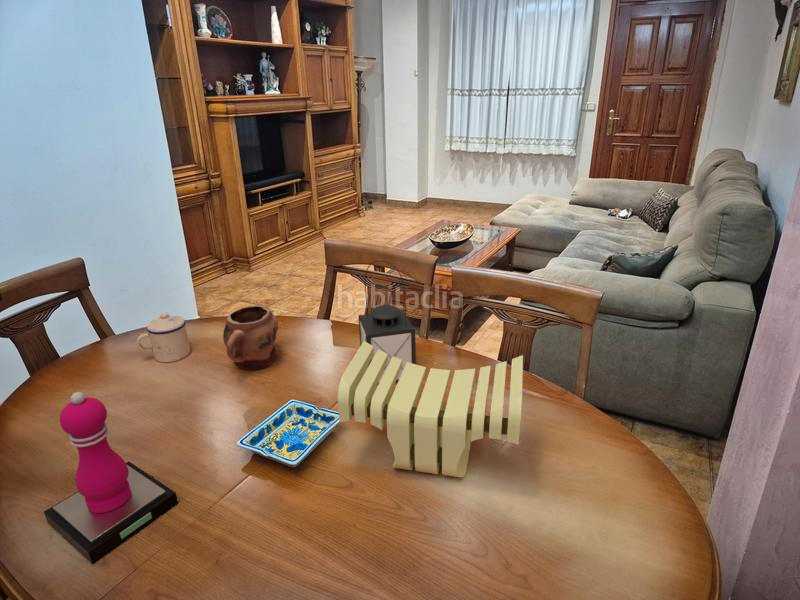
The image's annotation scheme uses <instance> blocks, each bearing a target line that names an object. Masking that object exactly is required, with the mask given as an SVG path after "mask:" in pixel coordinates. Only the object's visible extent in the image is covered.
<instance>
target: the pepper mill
mask: <svg viewBox="0 0 800 600" xmlns="http://www.w3.org/2000/svg"><path fill="white" fill-rule="evenodd" d="M107 417H108V410H107V409H106V406H105V404H104V403H103V402H102V401H101V400H99V399H98V398H95V397H86V396H85V394H84V393H83V392H82V391H76V392H74V393H72V395H70V402H68V403H67V404H66V405H65V406H64V407H63V408H62V410H61V412H60V415H59V426H60V428H61V429H62V430H63V431H64V432H65V433H66V434H68V439H69V441H70V444H71V445H72V446H73V447H75V448H76V449H77V452H78V464H77V468H76V472H75V473H76V474H75V486H76V490H77V492H79V493H80V494H81V495H83V496H84V497H85V502H86V505H87V507H88V509H89V510H90V511H91V512H95V513H104V512H109V511H111V510H114V509H116V508H118V507H119V506H121V505H122V504H123V503H124V502H125V501H126V500H127V499H128V498H129V496H130V493H131V489H130V486H129V482H128V481H127V478H128V475H129V470H128V467H127V465H126V463H127V462H126V461H125V460H124V459H123V457H122V456H120V454H118V453H117V452H116V451H115V450H114V449H112V447H111V446H110V443H109V442H108V438H107V436H108V433H109V427H108V424H107V422H106V420H107Z"/></svg>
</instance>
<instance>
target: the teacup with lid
mask: <svg viewBox="0 0 800 600" xmlns="http://www.w3.org/2000/svg"><path fill="white" fill-rule="evenodd" d="M186 324H187V323H186V320H185V318H184V317H182V316H180V315H169V313H168V312H162V313H160V314H159V317H157V318H156V319H153V320H151V321H149V323H148V324H147V326H146V331H147V332H146V333H141V334H140V335H139V336H138V337H137V338H136V345H137V347H138V349H140V350H141V351H142V352H145V353H151V352H153V357H154V359H155V361H157V362H159V363H173V362H177V361H181V360H183V359H185V358H186V357H188V356H189V355H190V353H191V346H190V341H189V337H188V332H187V327H186ZM148 337H149V340H150V344H151V347H144V346H143V345H142V344H141V340H142V339H144V338H148Z"/></svg>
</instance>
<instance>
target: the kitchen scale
mask: <svg viewBox="0 0 800 600" xmlns="http://www.w3.org/2000/svg"><path fill="white" fill-rule="evenodd" d="M125 463H126V465H127V467H128V470H129V475H128V478H127V481H128V482H129V486H130V489H131V493H130V496H129V498H128V499H127V500H126V501H125V502H124V503H123V504H122V505H121V506H119V507H118V508H116V509H114V510H111V511H109V512H104V513H95V512H91V511H90V510H89V509H88V507H87V505H86V502H85V497H84V496H83V495H81V494H80V493H79V492H78V491H76V492H74V493H73V494H70V495H69V496H68V497H66V498H64V499H62V500H61V501H59V502H57V503H56V504H53V506H50V507H49V508H47V509H46V510H44V511H43V515H44V517H45V519H46V522H47V524H48V525H49V526H51V528H53V529H54V531H56V533H58V534H59V535H60V536H61V537H62V538H64V540H66V541H67V543H69V544H70V545H71V546H72V547H73V548H74V549H75V550H77V552H78V553H80V555H82V556H83V557H84V558H85V559H86V560H87V561H89V563H90V564H91V565H94V564H95V563H97V562H98V561H100V560H101V559H102V558H104V557H105V556H107V555H108V554H109V553H111V552H112V551H113V550H115V549H116V548H118V547H119V546H121V545H122V544H124V543H125V542H127V540H129V539H130V538H132V537H133V536H135V535H136V534H137V533H139V532H140V531H142V530H143V529H145V528H146V527H147V526H149V525H150V524H152V523H153V522H155V521H156V520H157V519H158V518H160V517H161V516H163V515H164V514H165V513H167V512H169V511H170V510H172V509H173V508H174V507H176V506H177V505H178V504H179V501H178V497H177V493H176V491H174V490H173V489H171V488H169V487H168V486H167V485H166V484H164V483H163V482H161V481H159V480H158V479H156V478H155V477H154V476H152V475H150V474H149V473H147V472H146V471H144V470H143V469H141V468H140V467H138V466H137V465H136V464H134V463H132V462H131V461H127V462H125Z"/></svg>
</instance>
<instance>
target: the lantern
mask: <svg viewBox="0 0 800 600" xmlns="http://www.w3.org/2000/svg"><path fill="white" fill-rule="evenodd" d="M377 262H381V263H382V262H383V263H386V264H388V265H391V266H392V267H393V268H394V269H395V270H396V271H397V272H398V274H399V277H400V279H401V283H402V287H403V289H402V290H403V298H404V302H403V303H404V309H399V307H397V306H394V305H390V304H381V305H378V306H376V307H374V308H373V309H371V310H370V312H369V308H368V297H367V273H368V270H369V268H370V267H371V265H372V264H374V263H377ZM405 289H406V288H405V284H404V279H403V277H402V274H401V272H400V271H399V269H398V268H397V267H396V266H395V265H394V264H393V263H390V261H389V262H388V261H386V260H374V261H373V262H371V263H370V264H369V265H368V266H367V268H366V271H365V275H364V293H365V294H364V295H365V303H366V314H358V315H357V317H358V332H359V345H360V346H361V345H362V343H363V342H364V341H365V342H367V343H369V344H370V345H372V346H374V355H373V357H372V359H373V358H374V356H375V354H376V352H377V351H378V349H379V350H381V351H383V352H385V353H387V354H388V361H387V363H386V365H385V368H384V370H383V372H382V374H381V377H380V379H379V382H378V385H379V383H380V381H381V379H382V377H383V375H384V372H385V370H386V368H387V366H388V364H389V362H390V360H391V358H392V356H394V357H396V358H398V359H401V360H402V367H401V370H400V372H399V375H398V377H397V380H396V383H395V384H397V383H398V381H399V379H400V377H401V374H402V372H403V370H404V367H405V365H406V363H407V362H409V363H412V364H415V365H417V364H416V362H417V361H416V360H417V359H416V328H415V327H414V326H413V324H412V323H411V321H410V320H409V318H408V316H407V308H406V307H407V305H406V290H405ZM360 346H359V347H360ZM372 359H371V361H372ZM371 361H370V363H371ZM370 363H369V365H370ZM369 365H368V367H369ZM368 367H367V368H368ZM366 370H367V369H366ZM365 372H366V371H365ZM378 385H377V387H378Z"/></svg>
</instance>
